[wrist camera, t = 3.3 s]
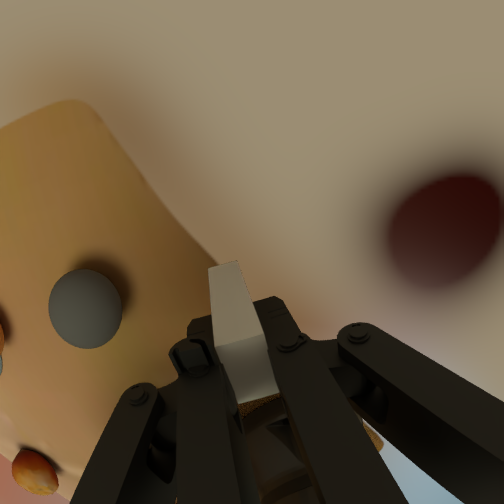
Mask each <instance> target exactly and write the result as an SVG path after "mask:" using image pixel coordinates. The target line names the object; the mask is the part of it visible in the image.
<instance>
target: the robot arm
mask: <svg viewBox="0 0 504 504" xmlns="http://www.w3.org/2000/svg"><path fill="white" fill-rule="evenodd" d="M208 275H209V288H210V301H211V313H212V315H208V316H204V317H200V318H196V319H192V321H191V322H190V324H189V325H188V327H187V338H185V339H183V340H181V341H179V342H178V343H176V344H175V345H174V346H173V347H172V348H171V349H170V351H169V354H168V355H169V357H170V359H171V361H172V363H173V365H174V367H175V369H176V371H177V373H178V379H177V380H176V381H174V382H173V383H171V384H169V385H167V386H164V387H162V388H160V389H157V388H156V387H155V386H154V385H153V384H151V383H138V384H136V385H133V386H131V387H130V388H128V389H127V390H126V391H125V392H124V393H123V395H122V396H121V398H120V400H119V402H118V403H117V405H116V407H115V409H114V411H113V413H112V415H111V417H110V419H109V421H108V423H107V425H106V427H105V429H104V431H103V433H102V435H101V437H100V439H99V441H98V443H97V445H96V447H95V449H94V451H93V453H92V455H91V457H90V460H89V462H88V464H87V466H86V468H85V470H84V472H83V475H82V477H81V479H80V481H79V483H78V485H77V488H76V490H75V492H74V494H73V497H72V499H71V501H70V504H175V500H176V496H177V504H409V503H408V501H407V500H406V498H405V497H404V495H403V493H402V491H401V489H400V488H399V486H398V484H397V483H396V481H395V480H394V478H393V476H392V474H391V472H390V471H389V469H388V467H387V466H386V464H385V463H384V461H383V459H382V457H381V456H380V454H379V452H378V451H377V449H376V447H375V446H374V444H373V442H372V440H371V439H370V437H369V435H368V434H367V432H366V430H365V429H364V427H363V421H362V418H363V419H364V420H365V421H366V422H367V423H368V424H369V425H371V426H372V427H373V428H374V429H375V430H376V431H377V432H378V433H379V434H381V435H382V436H383V437H384V438H385V439H386V440H387V441H389V442H390V443H391V444H392V445H393V446H394V447H396V448H397V449H398V450H399V451H400V452H401V453H403V454H404V455H405V456H406V457H407V458H408V459H410V460H411V461H412V462H413V463H414V464H415V465H417V466H418V467H419V468H420V469H421V470H423V471H424V472H425V473H426V474H428V475H429V476H430V477H431V478H432V479H434V480H435V481H436V482H437V483H439V484H440V485H441V486H442V487H444V488H445V489H446V490H448V491H449V492H450V493H451V494H453V495H454V496H455V497H456V498H458V499H459V500H460V501H462V502H463V503H464V504H504V402H503V401H501V400H499V399H498V398H496V397H494V396H492V395H491V394H489V393H487V392H486V391H484V390H482V389H481V388H479V387H477V386H476V385H474V384H472V383H470V382H469V381H467V380H465V379H464V378H462V377H460V376H459V375H457V374H455V373H453V372H452V371H450V370H448V369H447V368H445V367H443V366H442V365H440V364H438V363H437V362H435V361H433V360H432V359H430V358H428V357H427V356H425V355H423V354H421V353H420V352H418V351H416V350H415V349H413V348H411V347H410V346H408V345H406V344H405V343H402V342H401V341H399V340H398V339H396V338H394V337H392V336H391V335H389V334H388V333H386V332H384V331H383V330H381V329H379V328H378V327H376V326H374V325H372V324H369V323H361V322H359V323H352V324H350V325H347V326H345V327H344V328H342V329H341V330H340V331H339V333H338V335H337V339H332V340H323V341H317V340H312V339H310V337H308V336H307V335H306V334H304V333H301V331H300V329H299V328H298V326H297V324H296V322H295V321H294V319H293V317H292V316H291V314H290V313H289V311H288V309H287V308H286V305H285V304H284V302H283V300H281V299H279V298H278V297H276V296H272V297H269V298H266V299H262V300H258V301H255V302H252V300H251V297H250V295H249V292H248V289H247V286H246V284H245V281H244V278H243V276H242V273H241V270H240V267H239V264H238V262H237V260H236V261H233V262H229V263H226V264H222V265H218V266H215V267H211V268H208ZM276 393H280V396H281V398H279V399H276V400H274V401H271V402H269V403H267V404H265V405H263V406H261V407H260V408H258V409H256V410H255V411H253V412H252V413H250V414H249V415H248V416H246V417H245V418H244V419H243V420H242V417H241V414H240V412H239V409H238V407H237V402H238V404H240V403H244V402H248V401H252V400H255V399H259V398H263V397H266V396H270V395H273V394H276ZM236 400H237V402H236Z"/></svg>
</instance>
